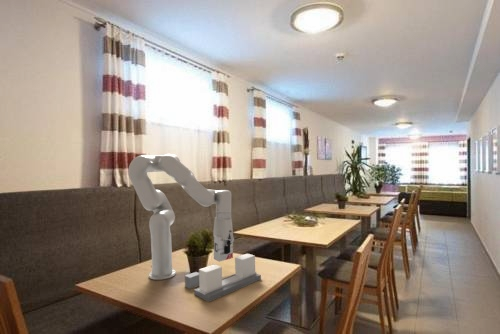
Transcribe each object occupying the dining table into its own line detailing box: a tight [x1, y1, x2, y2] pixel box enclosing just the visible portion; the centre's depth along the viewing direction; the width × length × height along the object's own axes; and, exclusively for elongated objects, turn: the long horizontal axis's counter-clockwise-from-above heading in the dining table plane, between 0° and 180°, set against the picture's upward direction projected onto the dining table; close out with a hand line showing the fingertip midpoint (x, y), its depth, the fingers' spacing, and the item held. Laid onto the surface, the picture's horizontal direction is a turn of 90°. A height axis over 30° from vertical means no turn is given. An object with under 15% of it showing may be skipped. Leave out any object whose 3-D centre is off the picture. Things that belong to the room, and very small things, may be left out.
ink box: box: [213, 235, 234, 263], centre depth 147 cm, size 9×5×12 cm, turn 130°
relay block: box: [184, 271, 199, 290], centre depth 133 cm, size 4×6×5 cm, turn 135°
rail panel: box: [193, 253, 262, 303], centre depth 131 cm, size 10×30×11 cm, turn 135°
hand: (223, 251), depth 147 cm, fingers closed on ink box, 5 cm apart
